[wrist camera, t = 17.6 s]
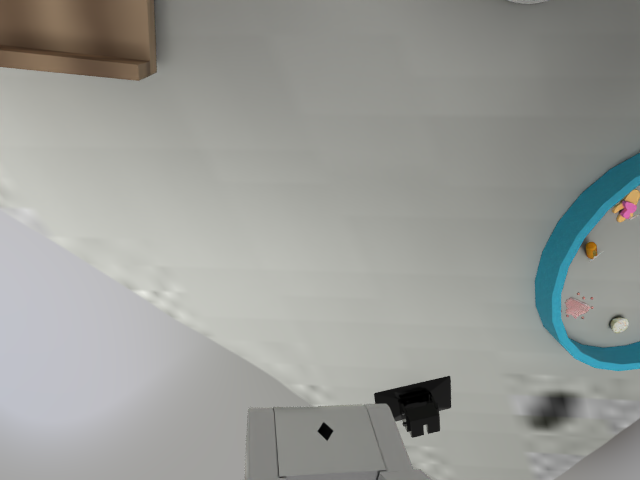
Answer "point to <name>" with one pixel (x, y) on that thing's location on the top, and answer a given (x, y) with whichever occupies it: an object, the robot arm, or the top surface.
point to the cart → (79, 37)
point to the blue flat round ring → (564, 249)
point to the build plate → (418, 404)
